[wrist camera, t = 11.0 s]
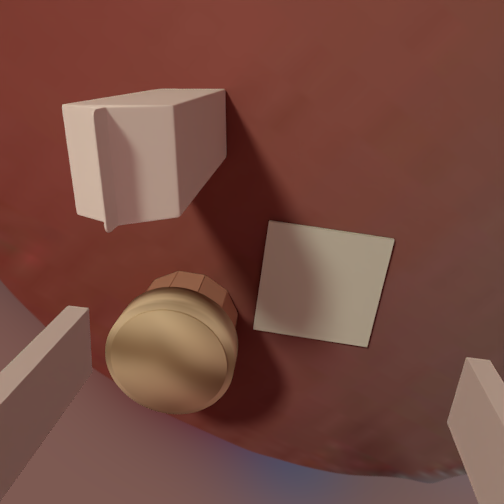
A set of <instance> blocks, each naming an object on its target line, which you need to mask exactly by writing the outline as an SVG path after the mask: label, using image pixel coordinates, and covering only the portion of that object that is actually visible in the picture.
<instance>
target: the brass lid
mask: <svg viewBox="0 0 504 504" xmlns="http://www.w3.org/2000/svg"><path fill="white" fill-rule="evenodd" d="M237 353H238V337H237V333H236V329H235V327H234V325H233V322H232V321H231V319H230V317H229V316H228V314H227V313H226V312H225V311H224V310H223V309H222V308H221V307H220V306H219V305H218V304H217V303H216V302H215V301H213V300H212V299H210V298H209V297H207V296H206V295H204V294H201V293H199V292H197V291H194V290H191V289H187V288H182V287H161V288H156V289H153V290H149V291H147V292H145V293H143V294H141V295H139V296H138V297H136V298H135V299H134V300H133V301H132V302H131V303H130V304H129V305H128V306H127V307H126V309H125V310H124V311H123V313H122V314H121V316H120V317H119V318H118V320H117V321H116V323H115V324H114V326H113V327H112V329H111V330H110V333H109V335H108V337H107V341H106V348H105V355H106V362H107V366H108V369H109V372H110V374H111V376H112V378H113V380H114V381H115V383H116V384H117V385H118V387H119V388H120V389H121V390H122V391H123V392H124V393H125V394H126V395H127V396H128V397H130V398H131V399H132V400H134V401H135V402H137V403H139V404H140V405H142V406H144V407H146V408H149V409H151V410H155V411H158V412H162V413H168V414H187V413H193V412H197V411H200V410H203V409H205V408H207V407H209V406H211V405H212V404H214V403H215V402H217V401H218V400H219V399H220V398H221V397H222V396H223V395H224V393H225V392H226V391H227V389H228V387H229V385H230V383H231V381H232V378H233V373H234V368H235V363H236V358H237Z"/></svg>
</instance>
